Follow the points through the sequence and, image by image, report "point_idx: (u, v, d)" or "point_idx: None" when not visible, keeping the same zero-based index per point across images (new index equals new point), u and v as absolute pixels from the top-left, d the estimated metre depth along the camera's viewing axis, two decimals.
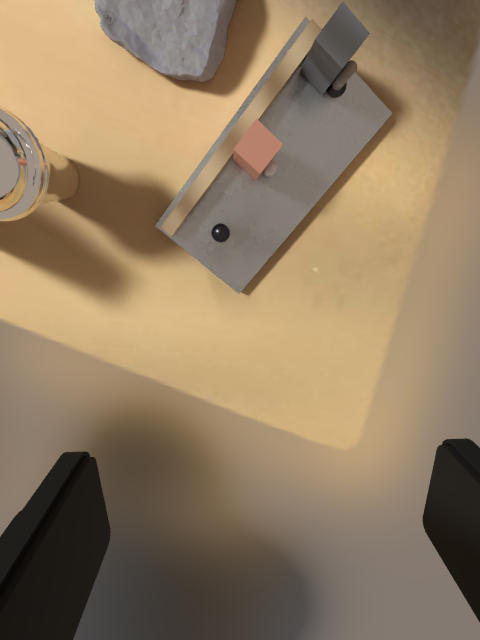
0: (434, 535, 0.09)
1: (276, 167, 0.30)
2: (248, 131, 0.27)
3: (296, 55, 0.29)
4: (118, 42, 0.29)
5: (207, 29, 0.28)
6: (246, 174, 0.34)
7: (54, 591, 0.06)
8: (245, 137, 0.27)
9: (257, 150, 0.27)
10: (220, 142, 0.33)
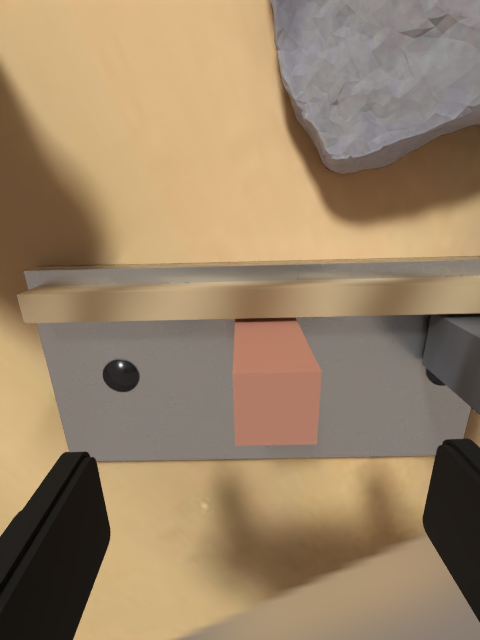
0: (434, 535, 0.09)
1: None
2: (287, 375, 0.11)
3: (454, 301, 0.15)
4: None
5: (420, 113, 0.12)
6: (233, 346, 0.17)
7: (54, 591, 0.06)
8: (272, 378, 0.11)
9: (270, 413, 0.11)
10: (243, 274, 0.16)
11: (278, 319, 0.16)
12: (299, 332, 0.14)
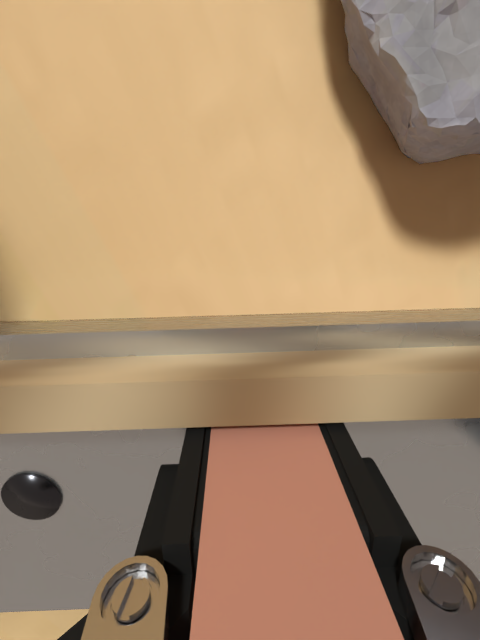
0: None
1: None
2: None
3: None
4: None
5: None
6: None
7: None
8: None
9: None
10: (225, 342, 0.10)
11: None
12: (328, 465, 0.08)
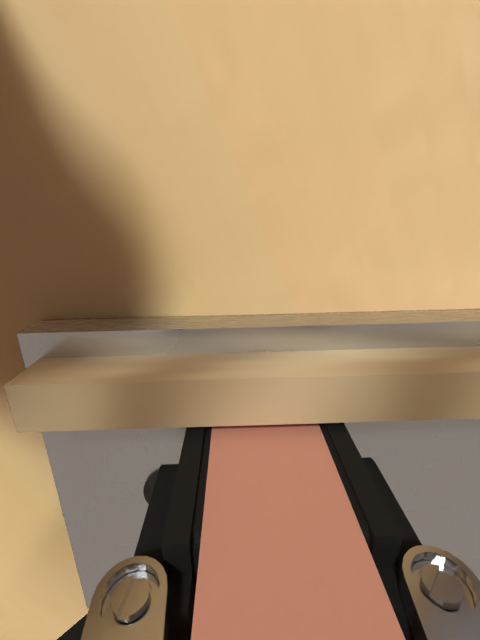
0: None
1: None
2: None
3: None
4: None
5: None
6: (357, 446, 0.11)
7: None
8: None
9: None
10: (389, 337, 0.10)
11: None
12: (329, 465, 0.08)
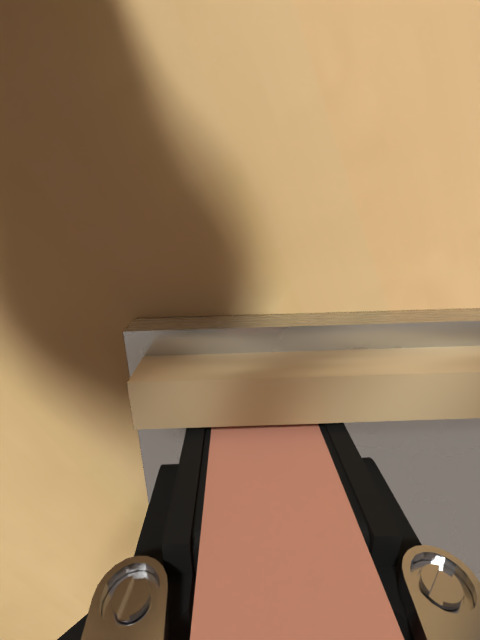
0: None
1: None
2: None
3: None
4: None
5: None
6: (448, 443, 0.11)
7: None
8: None
9: None
10: None
11: None
12: (328, 465, 0.08)
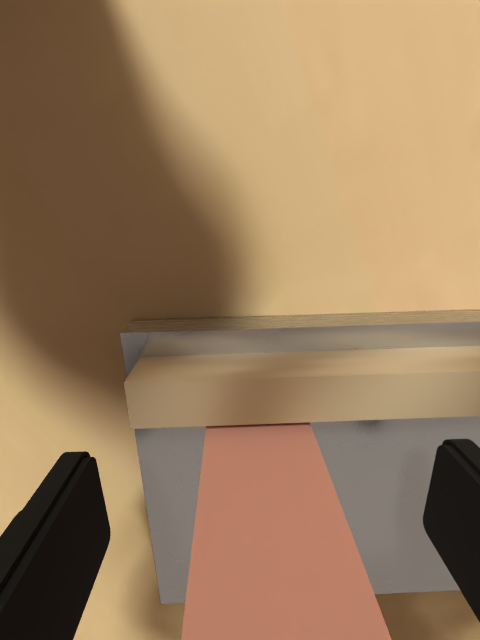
0: (434, 535, 0.09)
1: None
2: None
3: None
4: None
5: None
6: (438, 442, 0.11)
7: (54, 591, 0.06)
8: None
9: None
10: (479, 335, 0.10)
11: None
12: (318, 462, 0.08)
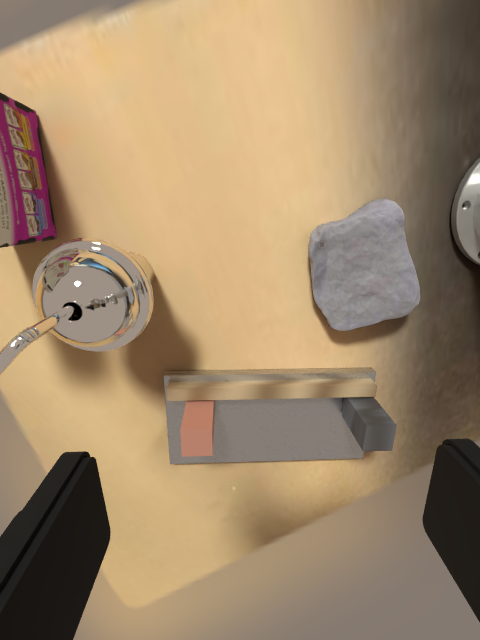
0: (434, 535, 0.09)
1: None
2: (199, 431, 0.31)
3: (351, 392, 0.35)
4: (311, 259, 0.31)
5: (366, 319, 0.32)
6: (256, 408, 0.37)
7: (54, 591, 0.06)
8: (194, 432, 0.31)
9: (194, 444, 0.31)
10: (262, 377, 0.36)
11: None
12: (211, 408, 0.34)
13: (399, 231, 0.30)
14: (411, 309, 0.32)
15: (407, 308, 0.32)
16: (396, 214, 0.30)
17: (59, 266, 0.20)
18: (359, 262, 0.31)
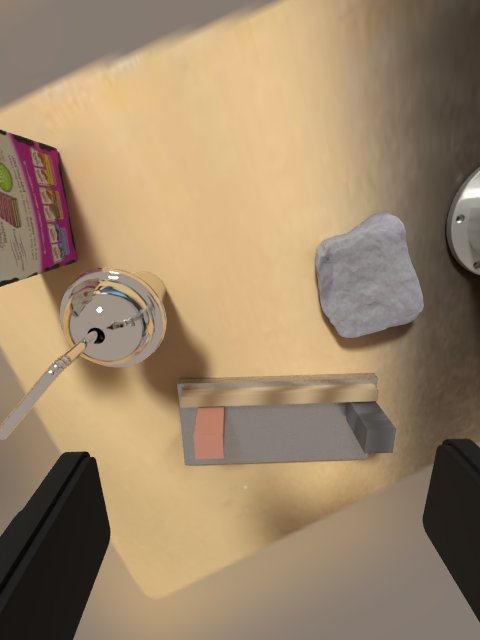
0: (434, 535, 0.09)
1: None
2: (211, 436, 0.33)
3: (353, 397, 0.37)
4: (317, 272, 0.33)
5: (372, 327, 0.34)
6: (264, 412, 0.40)
7: (54, 591, 0.06)
8: (206, 437, 0.33)
9: (206, 448, 0.34)
10: (268, 384, 0.39)
11: None
12: (222, 414, 0.36)
13: (401, 243, 0.32)
14: (415, 316, 0.34)
15: (411, 315, 0.34)
16: (397, 228, 0.31)
17: (84, 295, 0.23)
18: (364, 274, 0.33)
